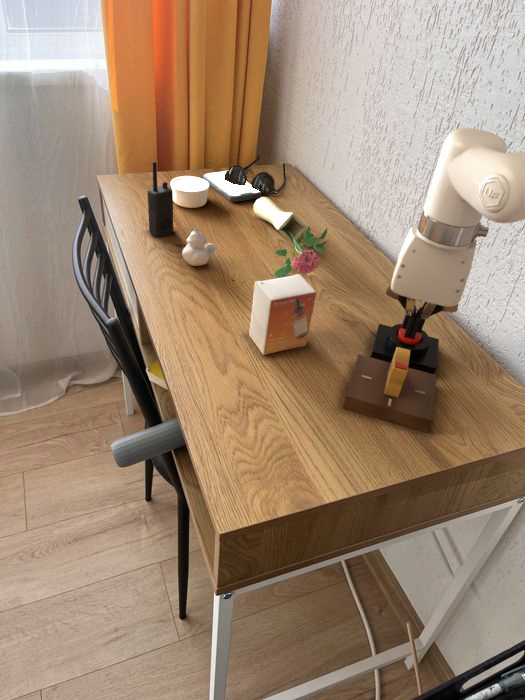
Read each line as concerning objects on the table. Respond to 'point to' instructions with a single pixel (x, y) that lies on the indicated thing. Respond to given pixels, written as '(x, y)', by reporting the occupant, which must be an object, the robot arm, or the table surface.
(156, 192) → the walkie-talkie
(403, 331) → the button
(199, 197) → the ramekin
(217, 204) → the table surface
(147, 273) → the table surface
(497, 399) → the table surface
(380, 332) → the button box
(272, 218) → the toppled flower pot
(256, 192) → the phone case
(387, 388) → the yellow block
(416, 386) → the plate
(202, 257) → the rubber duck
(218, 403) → the table surface
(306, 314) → the small box
